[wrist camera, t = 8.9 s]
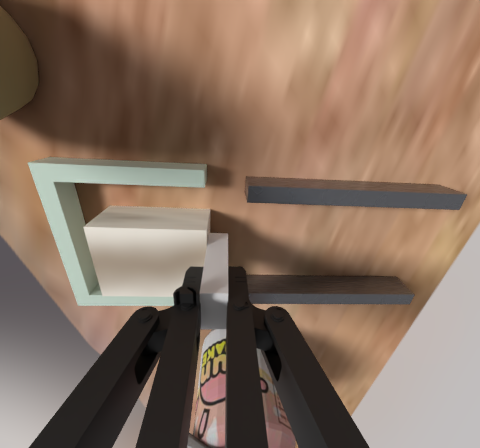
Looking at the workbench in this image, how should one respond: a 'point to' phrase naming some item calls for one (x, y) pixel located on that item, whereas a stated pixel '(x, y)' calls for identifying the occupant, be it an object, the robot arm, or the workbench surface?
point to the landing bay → (72, 221)
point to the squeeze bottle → (15, 67)
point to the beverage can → (214, 392)
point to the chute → (340, 194)
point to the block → (146, 248)
